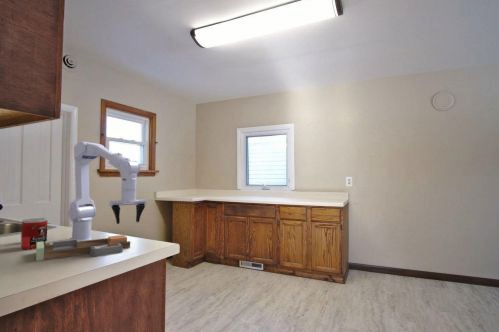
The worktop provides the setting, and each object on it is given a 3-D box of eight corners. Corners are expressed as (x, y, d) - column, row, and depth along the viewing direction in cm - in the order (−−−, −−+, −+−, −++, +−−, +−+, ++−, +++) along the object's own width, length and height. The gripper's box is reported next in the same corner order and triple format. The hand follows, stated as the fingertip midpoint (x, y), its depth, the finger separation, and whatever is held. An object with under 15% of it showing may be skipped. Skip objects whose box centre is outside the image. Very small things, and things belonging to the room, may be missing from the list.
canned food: (31, 250, 106) (33, 221, 106) (15, 249, 107) (16, 220, 108) (50, 245, 113) (51, 218, 114) (34, 244, 115) (35, 217, 115)
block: (107, 246, 114) (108, 236, 114) (123, 244, 118) (123, 234, 118) (110, 249, 109) (110, 239, 109) (126, 247, 113) (127, 237, 113)
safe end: (36, 252, 102) (36, 242, 102) (42, 252, 103) (43, 241, 103) (36, 260, 93) (36, 249, 93) (43, 259, 94) (44, 248, 94)
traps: (49, 248, 108) (49, 242, 109) (110, 241, 122) (110, 235, 122) (51, 262, 91) (51, 254, 91) (122, 252, 104) (122, 245, 105)
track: (42, 252, 103) (43, 245, 103) (122, 242, 120) (122, 236, 120) (43, 259, 94) (43, 252, 94) (130, 247, 111) (130, 241, 111)
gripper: (111, 190, 107) (110, 225, 106) (149, 189, 116) (148, 222, 115) (108, 189, 113) (107, 223, 112) (144, 189, 121) (143, 220, 121)
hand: (128, 222), depth 114 cm, fingers open, 7 cm apart
